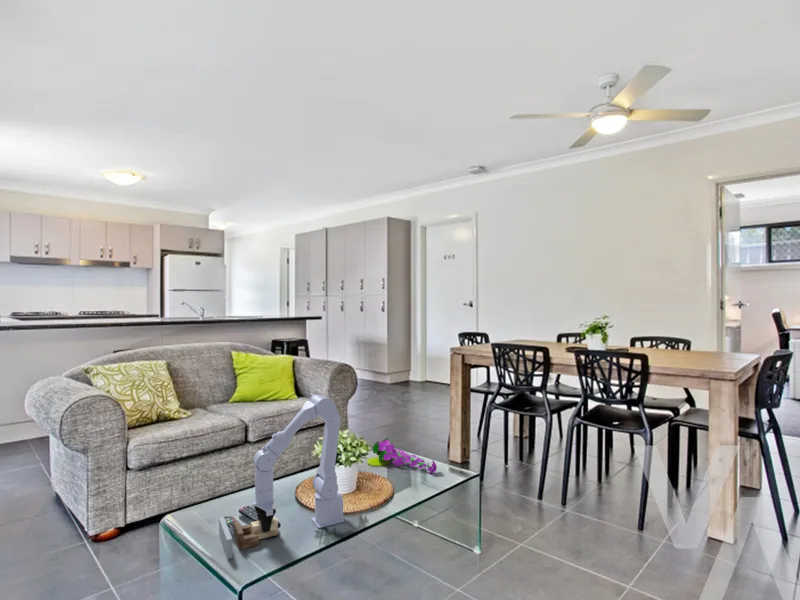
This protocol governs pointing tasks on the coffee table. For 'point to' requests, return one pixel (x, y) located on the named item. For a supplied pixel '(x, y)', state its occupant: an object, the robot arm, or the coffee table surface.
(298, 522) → the coffee table surface
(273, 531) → the cream wooden bar
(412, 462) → the purple flowers
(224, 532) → the backstop wall
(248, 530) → the brown u-shaped bracket
